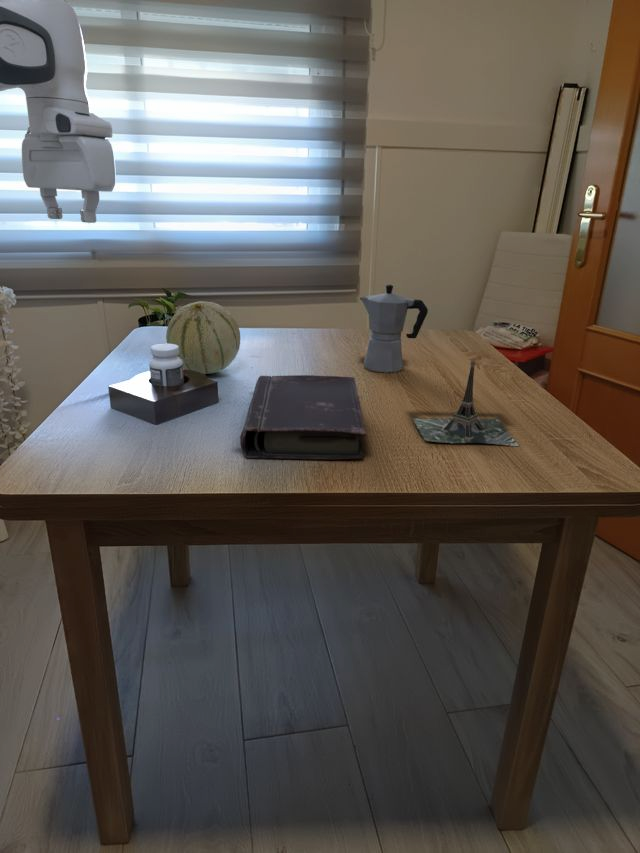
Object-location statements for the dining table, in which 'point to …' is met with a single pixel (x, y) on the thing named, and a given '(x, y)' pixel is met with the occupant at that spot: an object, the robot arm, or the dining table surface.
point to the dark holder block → (163, 397)
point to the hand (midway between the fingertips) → (71, 220)
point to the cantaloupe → (204, 336)
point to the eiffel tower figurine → (465, 424)
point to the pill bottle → (166, 365)
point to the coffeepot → (389, 329)
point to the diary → (304, 418)
